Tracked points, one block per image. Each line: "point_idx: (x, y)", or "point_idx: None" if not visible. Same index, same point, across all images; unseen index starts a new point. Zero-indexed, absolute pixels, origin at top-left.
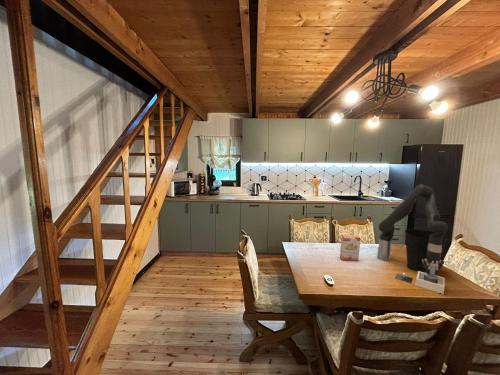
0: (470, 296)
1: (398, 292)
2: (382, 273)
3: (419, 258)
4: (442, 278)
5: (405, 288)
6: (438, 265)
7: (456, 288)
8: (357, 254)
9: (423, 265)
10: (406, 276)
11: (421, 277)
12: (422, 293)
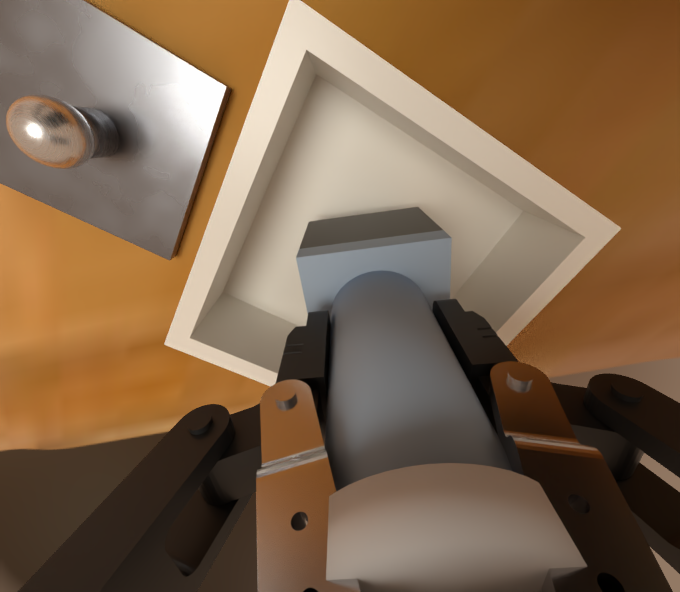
0: (626, 351)
1: (52, 407)
2: None
3: None
4: (575, 233)
5: (109, 342)
6: (672, 455)
7: (645, 231)
8: None
9: (161, 464)
10: (139, 44)
11: (340, 86)
12: (234, 385)
